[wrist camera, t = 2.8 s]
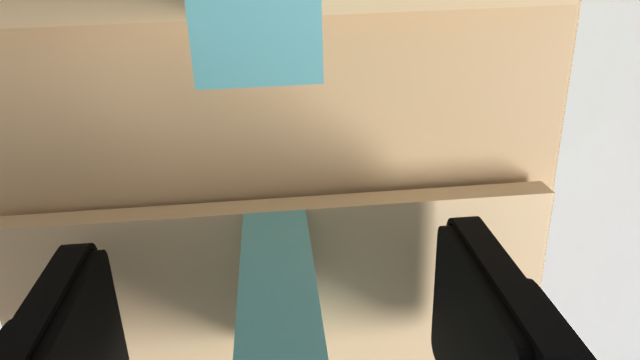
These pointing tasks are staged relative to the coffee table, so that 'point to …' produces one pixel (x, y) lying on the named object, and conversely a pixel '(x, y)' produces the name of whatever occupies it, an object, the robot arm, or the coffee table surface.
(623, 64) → the coffee table surface
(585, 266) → the coffee table surface
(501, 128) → the carton
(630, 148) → the coffee table surface
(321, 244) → the flap
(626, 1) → the coffee table surface
